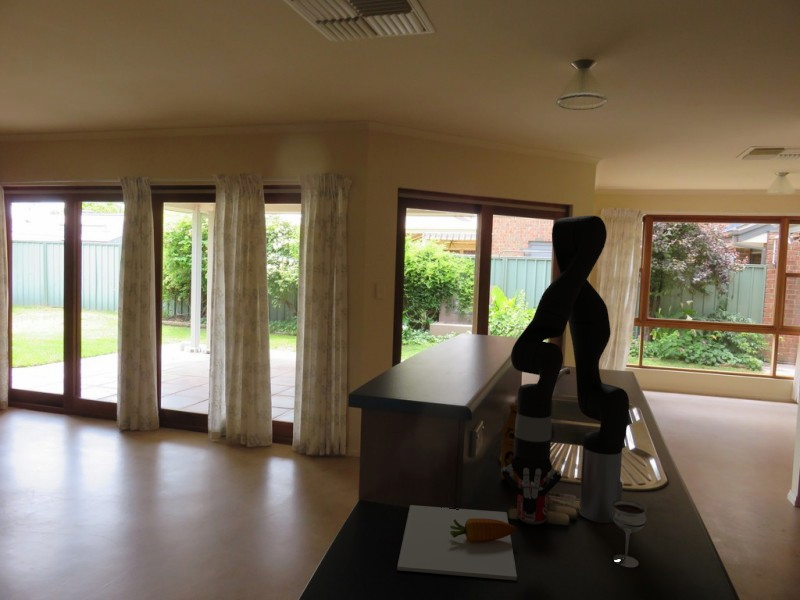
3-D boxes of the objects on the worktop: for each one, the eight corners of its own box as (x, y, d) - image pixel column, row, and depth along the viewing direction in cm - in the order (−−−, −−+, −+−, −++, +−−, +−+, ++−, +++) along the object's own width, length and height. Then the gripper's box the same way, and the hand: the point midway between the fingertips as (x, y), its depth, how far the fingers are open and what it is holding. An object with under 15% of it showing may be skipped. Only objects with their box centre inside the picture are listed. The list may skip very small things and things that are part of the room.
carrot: (512, 527, 131) (447, 529, 130) (514, 512, 129) (448, 514, 128) (517, 546, 127) (450, 548, 126) (519, 530, 125) (451, 532, 124)
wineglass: (604, 551, 126) (608, 499, 124) (635, 552, 125) (639, 500, 124) (615, 569, 119) (618, 513, 118) (648, 570, 119) (652, 515, 118)
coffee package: (521, 495, 153) (525, 415, 151) (495, 478, 164) (498, 403, 162) (551, 490, 157) (555, 412, 155) (523, 473, 168) (527, 400, 166)
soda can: (547, 527, 136) (550, 475, 135) (516, 524, 137) (518, 471, 136) (545, 514, 143) (548, 464, 141) (516, 511, 144) (518, 461, 143)
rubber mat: (506, 515, 142) (506, 512, 141) (516, 580, 114) (516, 576, 114) (410, 508, 144) (410, 505, 144) (397, 570, 116) (397, 566, 116)
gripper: (561, 430, 124) (557, 507, 125) (500, 426, 125) (496, 502, 127) (568, 442, 116) (563, 523, 118) (502, 438, 118) (498, 518, 119)
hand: (528, 512), depth 122 cm, fingers closed
